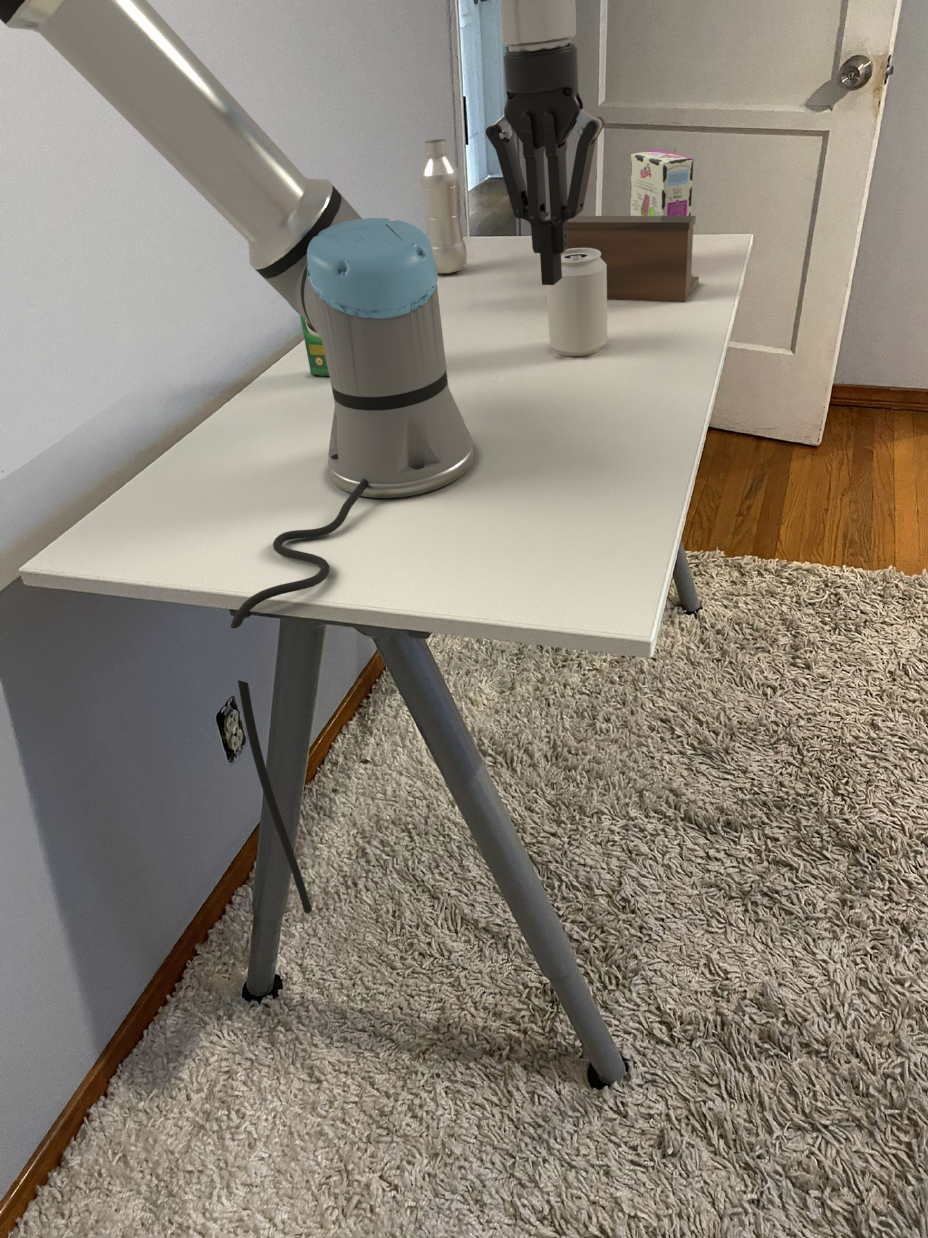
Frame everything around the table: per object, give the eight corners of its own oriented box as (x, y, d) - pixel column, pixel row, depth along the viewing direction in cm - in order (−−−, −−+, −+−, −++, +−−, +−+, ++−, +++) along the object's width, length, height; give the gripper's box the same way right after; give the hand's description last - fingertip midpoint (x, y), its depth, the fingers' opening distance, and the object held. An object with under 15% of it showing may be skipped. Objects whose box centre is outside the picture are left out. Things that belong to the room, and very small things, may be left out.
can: (606, 336, 122) (605, 242, 115) (608, 356, 116) (607, 258, 109) (550, 340, 123) (545, 247, 116) (549, 360, 117) (544, 263, 110)
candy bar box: (690, 275, 140) (695, 157, 131) (660, 281, 139) (663, 162, 130) (656, 258, 149) (658, 147, 139) (628, 264, 148) (628, 152, 139)
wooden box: (686, 302, 130) (689, 222, 124) (564, 298, 137) (561, 221, 131) (700, 284, 136) (703, 207, 130) (582, 281, 143) (580, 207, 137)
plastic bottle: (423, 272, 157) (407, 142, 145) (459, 263, 159) (446, 135, 147) (438, 280, 152) (423, 146, 140) (475, 271, 154) (463, 139, 142)
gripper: (612, 34, 93) (615, 272, 107) (495, 45, 98) (512, 270, 112) (588, 44, 88) (595, 292, 102) (466, 54, 93) (488, 290, 107)
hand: (552, 281), depth 107 cm, fingers closed
